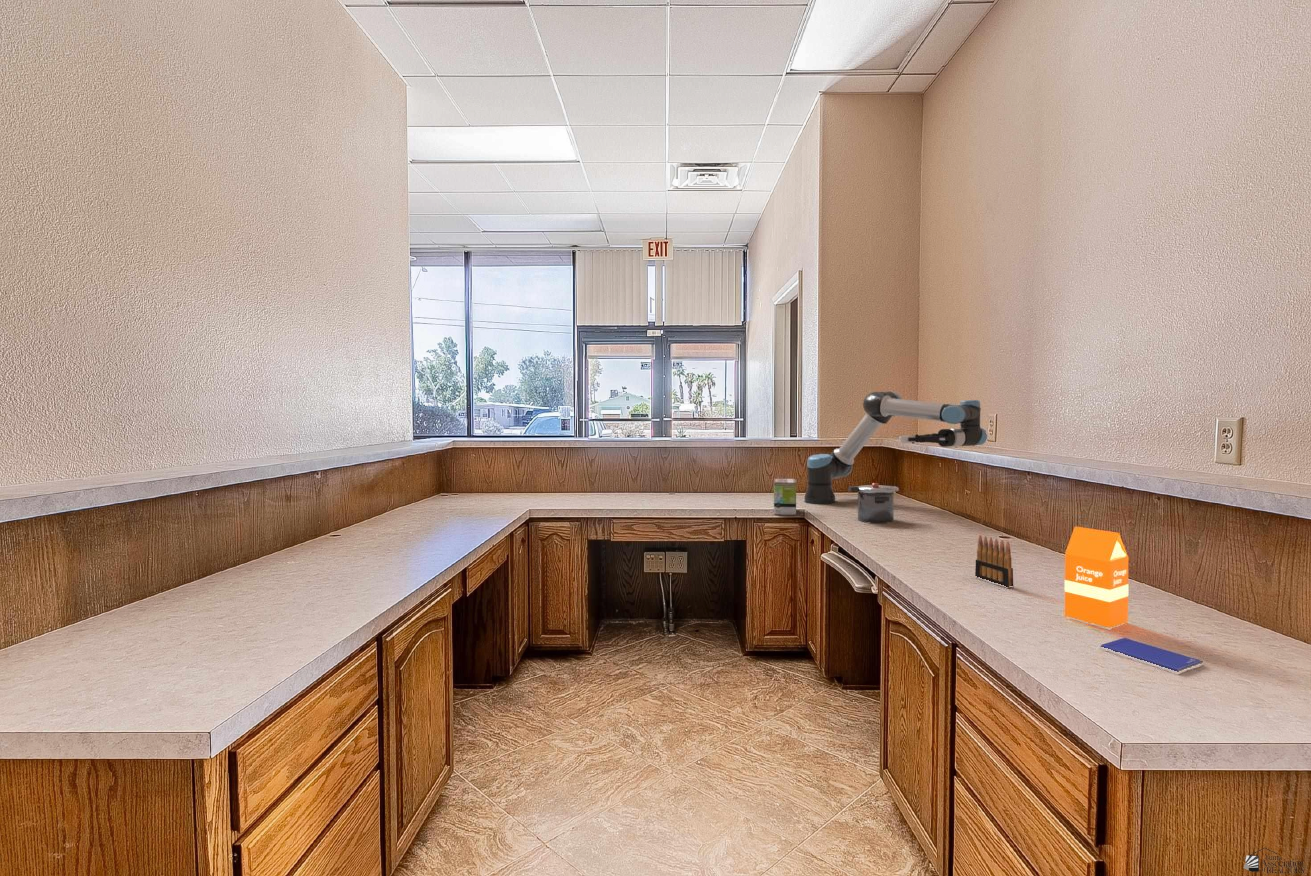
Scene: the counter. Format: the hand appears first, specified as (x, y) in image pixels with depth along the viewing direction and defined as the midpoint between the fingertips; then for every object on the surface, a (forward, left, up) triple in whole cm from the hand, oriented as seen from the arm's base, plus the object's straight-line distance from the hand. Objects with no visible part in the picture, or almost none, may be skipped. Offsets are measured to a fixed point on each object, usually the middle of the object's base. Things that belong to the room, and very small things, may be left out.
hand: (899, 439), depth 249 cm
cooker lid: (+2, -12, -21) cm, 24 cm away
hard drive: (+140, -4, -34) cm, 144 cm away
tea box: (-21, -44, -34) cm, 59 cm away
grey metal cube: (+2, -11, -33) cm, 35 cm away
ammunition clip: (+92, -8, -34) cm, 98 cm away
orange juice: (+121, -1, -34) cm, 125 cm away
